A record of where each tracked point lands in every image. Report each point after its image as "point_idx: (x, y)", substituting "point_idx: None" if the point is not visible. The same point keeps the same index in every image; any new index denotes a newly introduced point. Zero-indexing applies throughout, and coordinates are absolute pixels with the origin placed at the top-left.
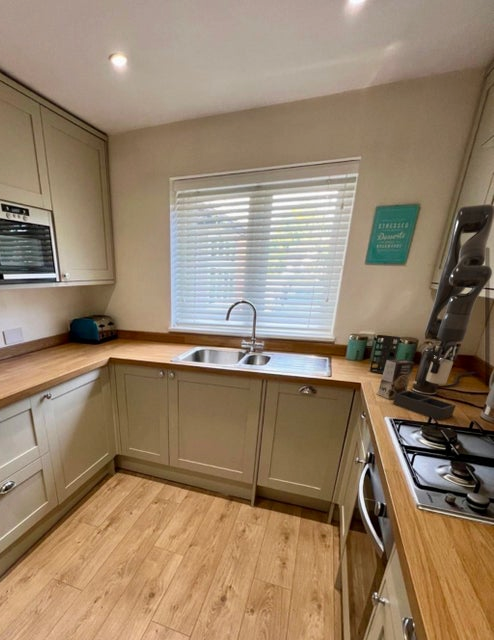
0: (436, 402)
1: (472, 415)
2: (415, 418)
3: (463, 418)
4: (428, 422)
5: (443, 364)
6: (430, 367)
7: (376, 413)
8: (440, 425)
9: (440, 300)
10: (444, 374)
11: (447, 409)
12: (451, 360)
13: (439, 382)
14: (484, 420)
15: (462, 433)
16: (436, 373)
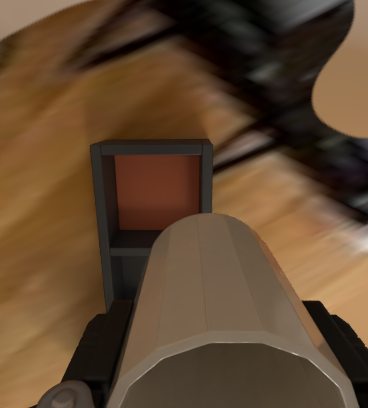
0: (110, 217)
1: (5, 103)
2: (276, 192)
3: (83, 103)
4: (271, 147)
5: (334, 359)
6: (278, 398)
7: (360, 281)
8: (259, 107)
9: None
10: (263, 257)
11: (165, 143)
12: (81, 400)
13: (258, 235)
14: (12, 46)
15: (264, 16)
16: (318, 301)
